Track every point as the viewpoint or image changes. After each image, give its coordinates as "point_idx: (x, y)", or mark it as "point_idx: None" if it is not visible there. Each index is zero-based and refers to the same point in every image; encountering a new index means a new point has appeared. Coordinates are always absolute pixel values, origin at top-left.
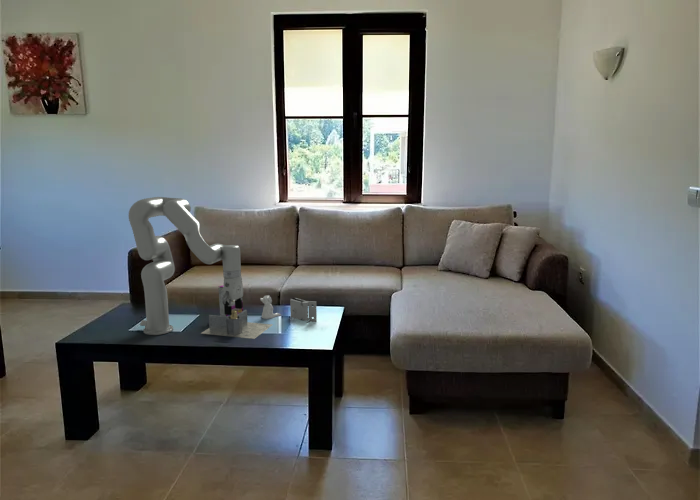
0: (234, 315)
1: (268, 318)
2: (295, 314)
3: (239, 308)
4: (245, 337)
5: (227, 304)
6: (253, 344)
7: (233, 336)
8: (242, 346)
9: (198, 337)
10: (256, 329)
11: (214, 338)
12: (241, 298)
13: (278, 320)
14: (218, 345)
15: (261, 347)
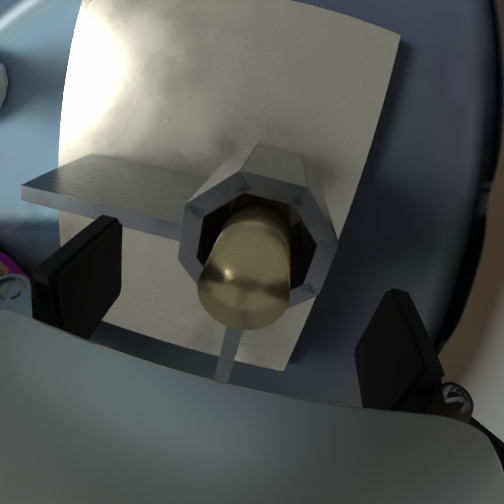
0: (288, 254)
1: (2, 70)
2: None
3: (121, 243)
4: (378, 99)
5: (478, 426)
6: (445, 46)
7: (353, 189)
8: (475, 112)
9: (305, 364)
10: (187, 53)
11: (327, 296)
12: (13, 291)
13: (4, 27)
14: (443, 251)
15: (482, 7)
